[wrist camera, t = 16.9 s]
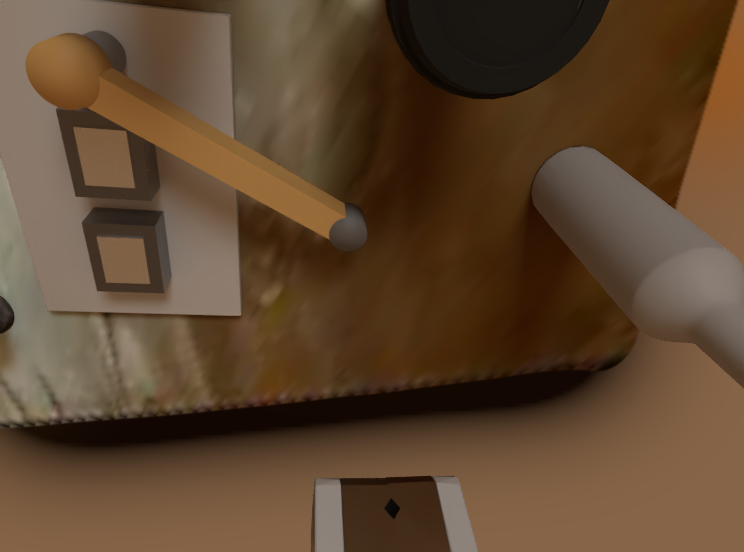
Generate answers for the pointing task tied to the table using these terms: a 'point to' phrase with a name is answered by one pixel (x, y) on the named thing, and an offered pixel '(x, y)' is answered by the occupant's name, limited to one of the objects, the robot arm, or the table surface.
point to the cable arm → (184, 135)
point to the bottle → (645, 255)
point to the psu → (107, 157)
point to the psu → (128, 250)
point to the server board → (177, 177)
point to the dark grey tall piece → (5, 315)
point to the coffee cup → (491, 41)
